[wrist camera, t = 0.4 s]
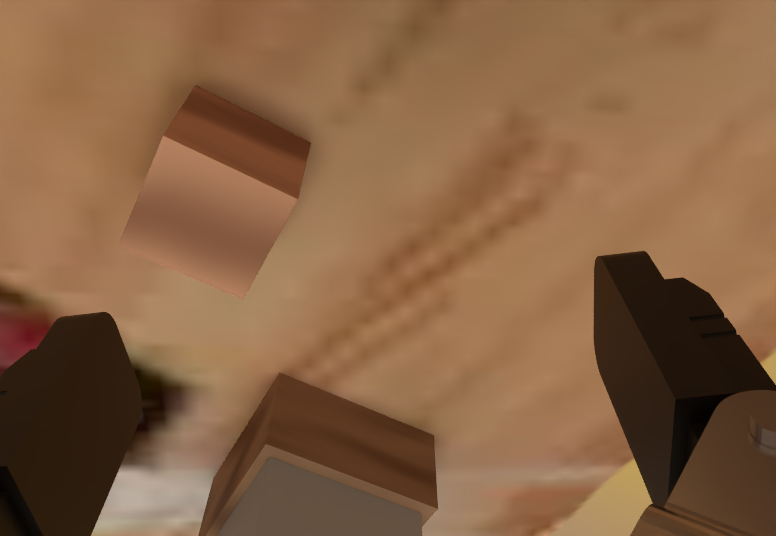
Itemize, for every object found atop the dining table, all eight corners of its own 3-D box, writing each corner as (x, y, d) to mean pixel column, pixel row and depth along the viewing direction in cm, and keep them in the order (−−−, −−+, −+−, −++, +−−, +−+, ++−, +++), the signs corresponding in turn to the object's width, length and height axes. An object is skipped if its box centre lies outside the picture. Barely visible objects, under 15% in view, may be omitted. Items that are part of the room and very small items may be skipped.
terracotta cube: (196, 84, 29) (163, 135, 25) (311, 141, 30) (297, 199, 26) (154, 184, 32) (117, 246, 27) (262, 233, 33) (243, 299, 29)
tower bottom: (280, 369, 37) (265, 443, 33) (433, 432, 40) (437, 509, 36) (214, 475, 42) (194, 552, 38) (355, 526, 44) (351, 604, 40)
